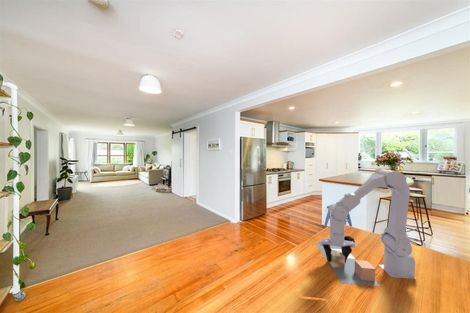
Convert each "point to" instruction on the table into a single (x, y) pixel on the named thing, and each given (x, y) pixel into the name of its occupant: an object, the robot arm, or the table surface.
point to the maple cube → (337, 259)
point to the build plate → (349, 238)
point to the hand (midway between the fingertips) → (336, 261)
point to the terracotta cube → (364, 270)
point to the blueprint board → (347, 269)
